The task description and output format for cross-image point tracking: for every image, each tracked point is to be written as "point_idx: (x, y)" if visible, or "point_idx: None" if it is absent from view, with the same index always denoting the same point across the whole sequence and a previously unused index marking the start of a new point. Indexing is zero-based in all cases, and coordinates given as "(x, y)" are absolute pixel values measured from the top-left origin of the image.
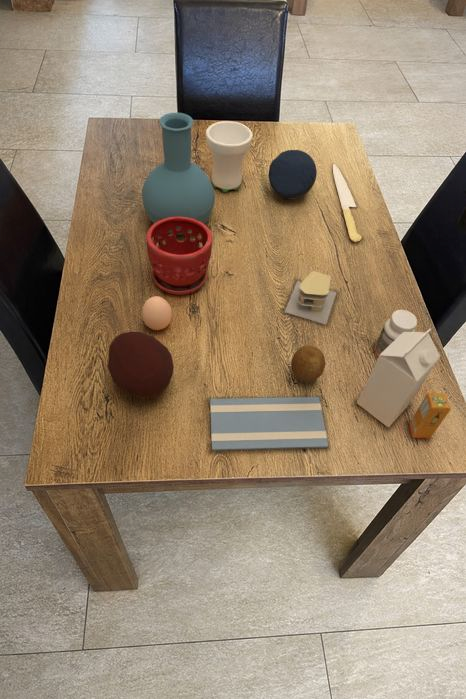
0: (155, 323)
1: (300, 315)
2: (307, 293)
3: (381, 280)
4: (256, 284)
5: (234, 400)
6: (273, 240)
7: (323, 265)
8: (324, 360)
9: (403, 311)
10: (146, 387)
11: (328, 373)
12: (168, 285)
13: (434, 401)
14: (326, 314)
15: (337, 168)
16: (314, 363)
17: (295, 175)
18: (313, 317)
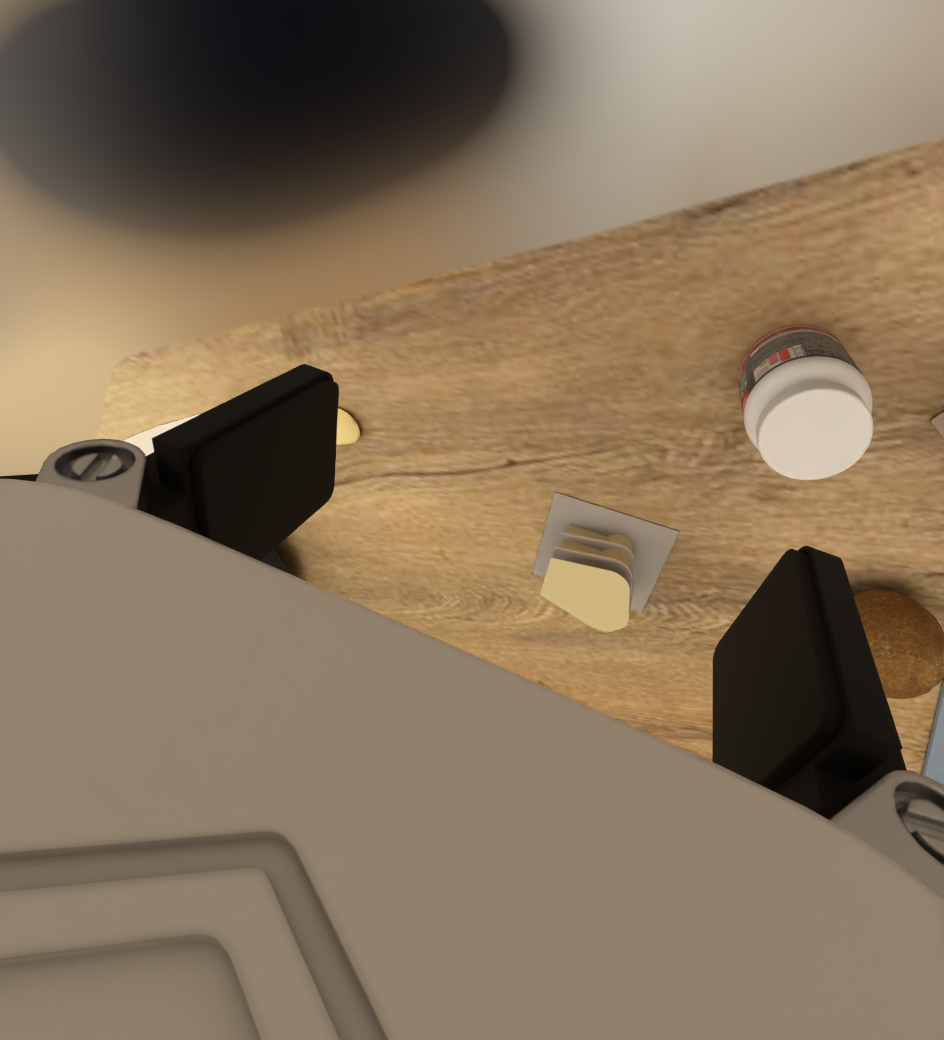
0: None
1: (650, 583)
2: (627, 619)
3: (481, 364)
4: (560, 649)
5: (939, 746)
6: (416, 600)
7: (464, 510)
8: (914, 635)
9: (769, 434)
10: None
11: (868, 548)
12: None
13: None
14: (641, 526)
15: (128, 442)
16: (940, 675)
17: None
18: (654, 556)
